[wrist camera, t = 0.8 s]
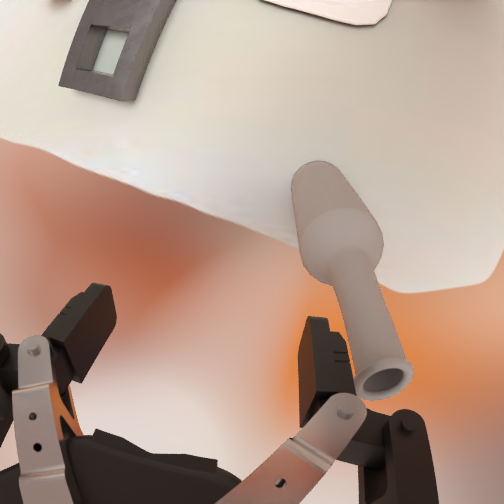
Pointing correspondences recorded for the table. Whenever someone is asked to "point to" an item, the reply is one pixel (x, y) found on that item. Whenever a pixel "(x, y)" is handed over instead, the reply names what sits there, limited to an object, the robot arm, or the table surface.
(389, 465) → the robot arm
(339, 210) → the bottle
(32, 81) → the table surface
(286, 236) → the table surface
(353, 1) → the plate
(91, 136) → the table surface
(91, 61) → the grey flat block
